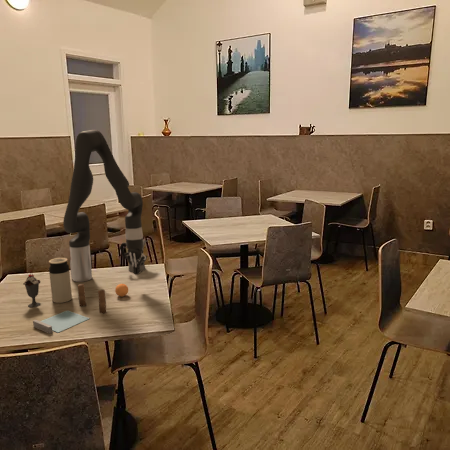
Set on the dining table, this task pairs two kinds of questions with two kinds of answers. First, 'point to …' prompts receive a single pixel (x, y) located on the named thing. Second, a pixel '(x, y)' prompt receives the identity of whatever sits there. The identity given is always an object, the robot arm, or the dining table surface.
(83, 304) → the post inner
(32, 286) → the sundae
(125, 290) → the ball
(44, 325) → the wall
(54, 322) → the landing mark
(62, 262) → the travel mug
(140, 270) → the coffeepot
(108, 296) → the dining table surface
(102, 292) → the post outer
